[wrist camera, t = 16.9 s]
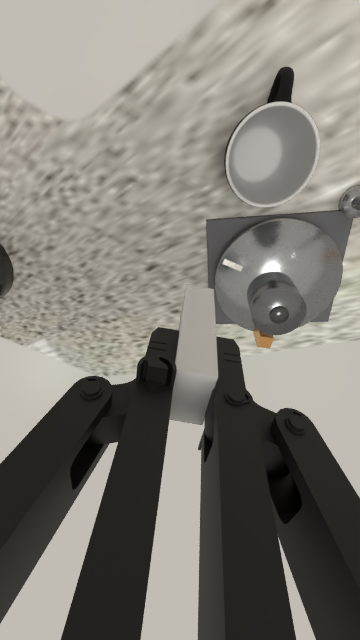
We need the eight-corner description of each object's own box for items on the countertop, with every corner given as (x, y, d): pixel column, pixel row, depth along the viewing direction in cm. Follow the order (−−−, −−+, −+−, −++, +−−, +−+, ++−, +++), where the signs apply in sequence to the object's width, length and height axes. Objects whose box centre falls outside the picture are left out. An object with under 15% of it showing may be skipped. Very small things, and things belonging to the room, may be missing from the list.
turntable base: (210, 322, 49) (210, 328, 48) (206, 219, 40) (206, 223, 38) (326, 319, 47) (331, 326, 45) (353, 209, 37) (360, 212, 35)
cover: (277, 318, 44) (286, 344, 38) (238, 302, 43) (242, 326, 37) (304, 282, 40) (319, 305, 34) (262, 263, 39) (271, 283, 33)
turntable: (290, 342, 48) (299, 363, 43) (196, 304, 45) (195, 322, 41) (367, 249, 38) (388, 264, 33) (252, 195, 36) (258, 203, 31)
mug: (279, 197, 37) (300, 214, 29) (215, 188, 37) (216, 201, 29) (314, 84, 31) (354, 62, 22) (236, 72, 31) (246, 46, 22)
